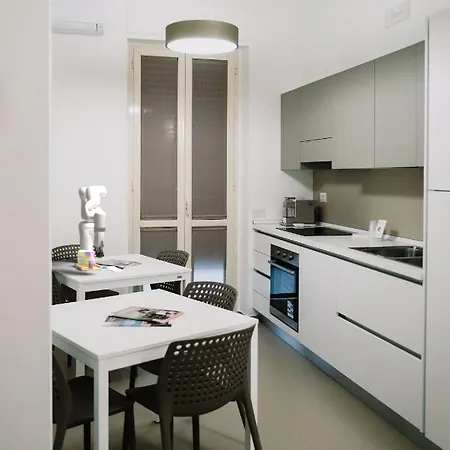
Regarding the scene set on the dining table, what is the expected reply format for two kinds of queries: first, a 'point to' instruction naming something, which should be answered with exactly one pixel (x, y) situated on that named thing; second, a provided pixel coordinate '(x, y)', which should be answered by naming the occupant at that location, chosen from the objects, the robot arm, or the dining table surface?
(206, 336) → the dining table surface
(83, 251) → the box
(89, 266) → the lane frame
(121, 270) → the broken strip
